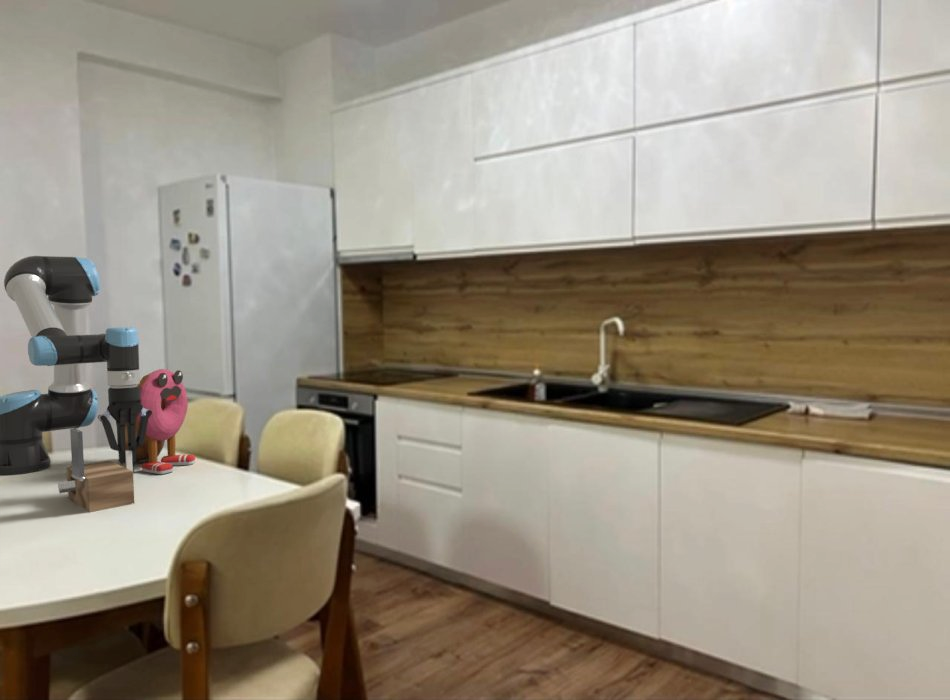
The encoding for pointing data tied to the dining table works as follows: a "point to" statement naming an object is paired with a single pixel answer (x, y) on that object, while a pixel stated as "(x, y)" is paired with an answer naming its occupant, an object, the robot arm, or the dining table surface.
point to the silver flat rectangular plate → (77, 454)
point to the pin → (66, 486)
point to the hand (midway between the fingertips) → (128, 474)
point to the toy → (163, 417)
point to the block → (102, 486)
